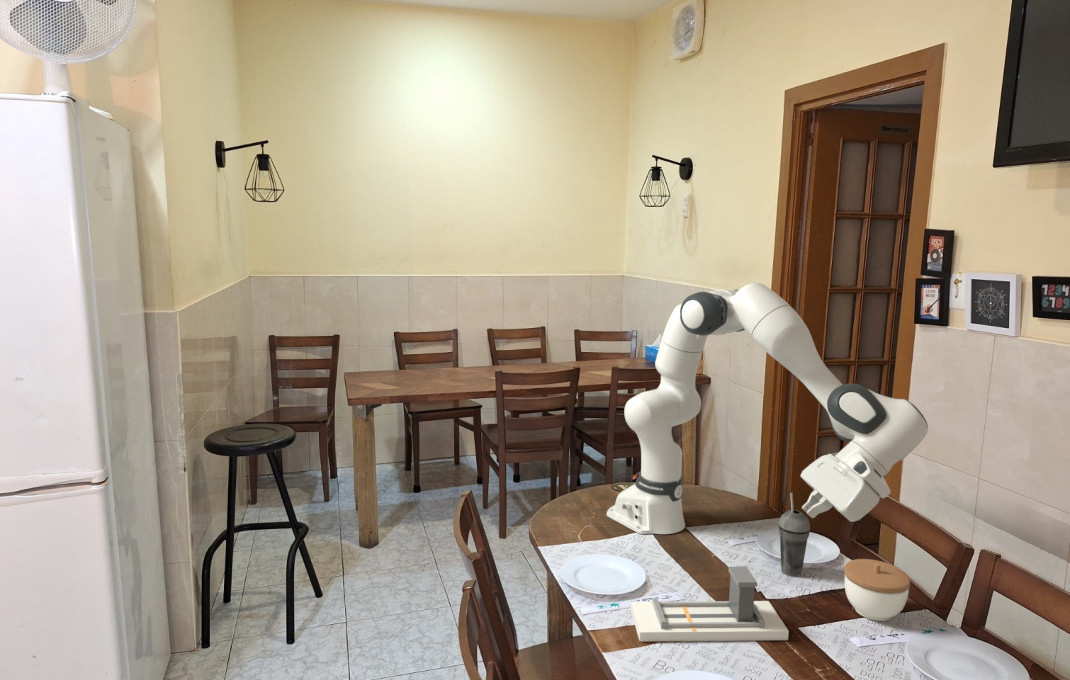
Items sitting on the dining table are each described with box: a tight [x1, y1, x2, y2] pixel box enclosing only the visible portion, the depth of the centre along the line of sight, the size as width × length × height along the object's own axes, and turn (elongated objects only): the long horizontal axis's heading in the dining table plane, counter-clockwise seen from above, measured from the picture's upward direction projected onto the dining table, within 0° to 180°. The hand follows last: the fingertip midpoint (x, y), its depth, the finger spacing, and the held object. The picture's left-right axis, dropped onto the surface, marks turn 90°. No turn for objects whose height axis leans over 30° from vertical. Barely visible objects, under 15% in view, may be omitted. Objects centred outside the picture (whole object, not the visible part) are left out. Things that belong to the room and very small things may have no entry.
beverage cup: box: [777, 492, 812, 578], centre depth 159 cm, size 7×7×20 cm
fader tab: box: [728, 566, 758, 622], centre depth 138 cm, size 4×6×9 cm, turn 1°
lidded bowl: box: [843, 558, 911, 622], centre depth 143 cm, size 13×13×11 cm
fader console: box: [630, 597, 789, 643], centre depth 139 cm, size 30×11×4 cm, turn 91°
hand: (806, 513), depth 136 cm, fingers closed
